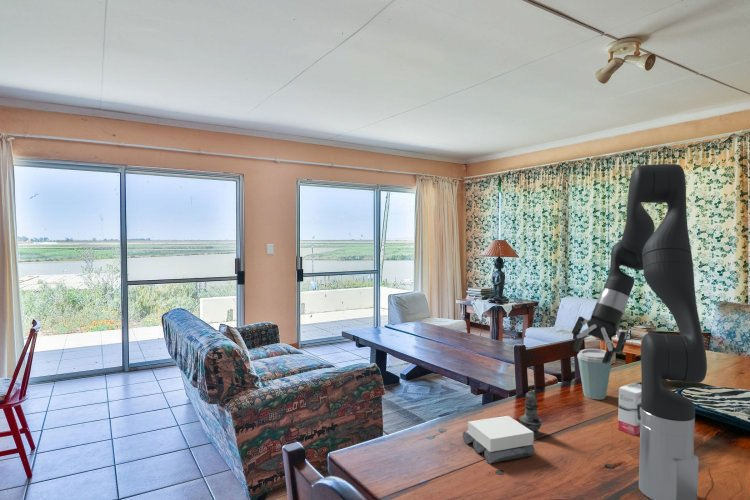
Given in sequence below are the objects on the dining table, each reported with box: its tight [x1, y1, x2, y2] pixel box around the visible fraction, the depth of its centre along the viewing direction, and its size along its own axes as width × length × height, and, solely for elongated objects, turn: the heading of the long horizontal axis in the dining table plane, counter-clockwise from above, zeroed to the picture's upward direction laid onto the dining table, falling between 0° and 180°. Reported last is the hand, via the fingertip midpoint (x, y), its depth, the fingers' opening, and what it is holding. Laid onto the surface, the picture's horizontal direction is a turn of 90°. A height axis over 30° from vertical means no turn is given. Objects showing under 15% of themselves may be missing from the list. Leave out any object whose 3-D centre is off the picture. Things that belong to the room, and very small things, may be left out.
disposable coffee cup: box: [577, 348, 613, 400], centre depth 145 cm, size 11×11×15 cm
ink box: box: [617, 382, 642, 436], centre depth 120 cm, size 8×5×12 cm, turn 123°
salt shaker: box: [519, 388, 543, 438], centre depth 118 cm, size 6×6×12 cm
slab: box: [467, 415, 535, 452], centre depth 107 cm, size 10×12×3 cm
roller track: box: [462, 430, 536, 464], centre depth 109 cm, size 13×12×3 cm
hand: (589, 357), depth 129 cm, fingers open, 8 cm apart
